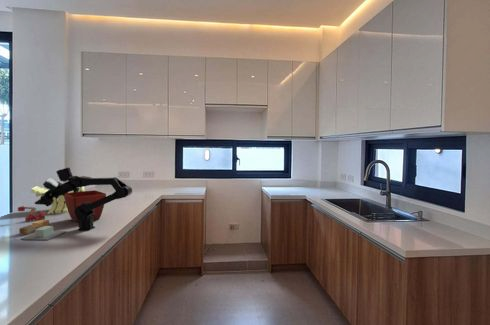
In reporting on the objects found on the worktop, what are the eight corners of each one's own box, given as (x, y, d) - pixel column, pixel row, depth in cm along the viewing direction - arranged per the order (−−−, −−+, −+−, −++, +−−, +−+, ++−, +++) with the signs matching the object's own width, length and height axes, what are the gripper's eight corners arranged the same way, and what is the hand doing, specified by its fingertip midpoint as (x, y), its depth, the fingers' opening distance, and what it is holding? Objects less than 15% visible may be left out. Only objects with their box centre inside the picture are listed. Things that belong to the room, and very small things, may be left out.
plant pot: (107, 219, 189) (106, 193, 188) (74, 225, 175) (73, 197, 174) (95, 214, 202) (94, 190, 201) (63, 219, 188) (63, 193, 187)
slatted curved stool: (84, 206, 226) (84, 183, 225) (82, 211, 211) (82, 186, 210) (37, 210, 214) (37, 185, 213) (32, 214, 199) (31, 188, 198)
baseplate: (66, 232, 161) (66, 224, 161) (47, 240, 147) (47, 232, 147) (41, 231, 162) (41, 223, 162) (20, 239, 148) (20, 231, 148)
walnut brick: (37, 231, 163) (37, 225, 163) (27, 235, 156) (27, 228, 156) (30, 231, 163) (29, 224, 163) (19, 235, 156) (19, 228, 156)
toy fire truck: (45, 219, 189) (45, 204, 188) (19, 223, 178) (18, 207, 178) (44, 218, 191) (43, 203, 190) (17, 222, 180) (17, 206, 180)
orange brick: (49, 226, 174) (48, 219, 174) (39, 229, 167) (39, 223, 167) (41, 225, 174) (41, 219, 174) (32, 229, 167) (32, 222, 167)
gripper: (62, 169, 171) (37, 180, 171) (48, 184, 154) (20, 195, 154) (74, 185, 176) (49, 195, 176) (61, 201, 159) (34, 212, 159)
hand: (39, 199), depth 166 cm, fingers open, 9 cm apart
